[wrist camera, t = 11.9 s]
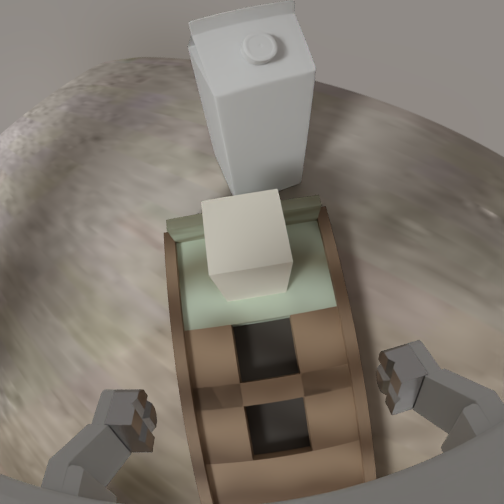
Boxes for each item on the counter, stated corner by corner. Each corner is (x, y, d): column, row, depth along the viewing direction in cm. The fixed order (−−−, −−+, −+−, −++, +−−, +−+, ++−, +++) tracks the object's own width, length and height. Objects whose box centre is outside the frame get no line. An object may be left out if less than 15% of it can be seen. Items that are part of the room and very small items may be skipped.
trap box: (371, 508, 21) (387, 529, 16) (216, 533, 21) (207, 558, 16) (321, 218, 31) (329, 193, 26) (171, 242, 31) (155, 222, 26)
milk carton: (215, 155, 34) (176, 5, 16) (273, 135, 35) (271, -16, 17) (237, 207, 32) (204, 46, 14) (301, 183, 32) (322, 22, 14)
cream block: (286, 292, 27) (293, 261, 19) (227, 301, 27) (208, 275, 19) (275, 237, 28) (277, 188, 20) (220, 246, 28) (201, 201, 20)
